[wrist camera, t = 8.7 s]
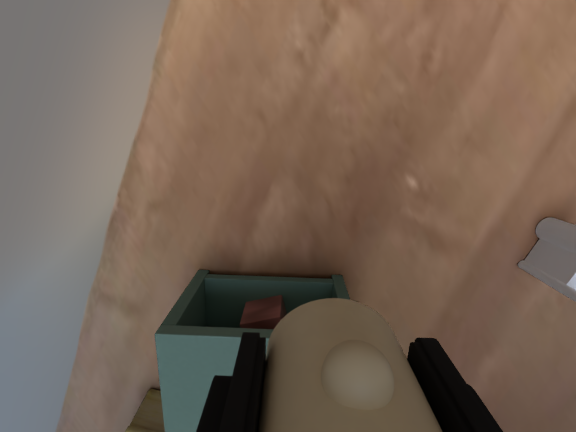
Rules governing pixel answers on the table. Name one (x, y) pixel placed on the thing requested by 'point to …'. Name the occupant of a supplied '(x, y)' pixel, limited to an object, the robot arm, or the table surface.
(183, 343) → the green open cabinet
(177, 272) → the table surface
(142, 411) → the toy sofa
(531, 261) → the toy castle
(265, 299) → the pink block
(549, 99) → the table surface
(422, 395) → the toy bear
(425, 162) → the table surface
